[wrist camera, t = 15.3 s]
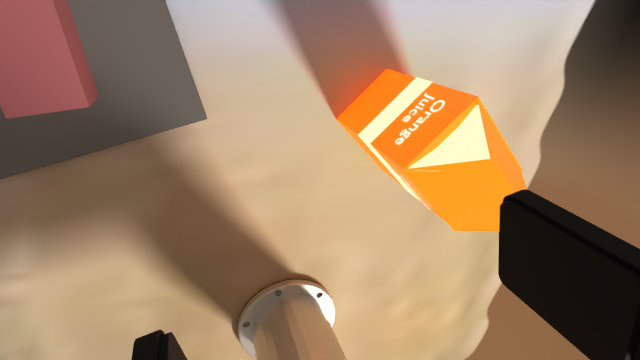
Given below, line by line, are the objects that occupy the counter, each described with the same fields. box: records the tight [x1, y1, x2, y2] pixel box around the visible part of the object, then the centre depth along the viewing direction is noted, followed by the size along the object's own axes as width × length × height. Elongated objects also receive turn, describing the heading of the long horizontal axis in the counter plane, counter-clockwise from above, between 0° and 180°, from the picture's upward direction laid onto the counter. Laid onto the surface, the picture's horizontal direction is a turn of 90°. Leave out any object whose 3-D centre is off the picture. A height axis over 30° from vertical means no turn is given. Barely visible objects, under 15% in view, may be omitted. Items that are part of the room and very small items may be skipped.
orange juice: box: [336, 69, 527, 232], centre depth 35 cm, size 8×9×20 cm
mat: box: [0, 0, 207, 179], centre depth 31 cm, size 18×20×1 cm
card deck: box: [0, 0, 99, 119], centre depth 29 cm, size 6×8×4 cm, turn 4°
